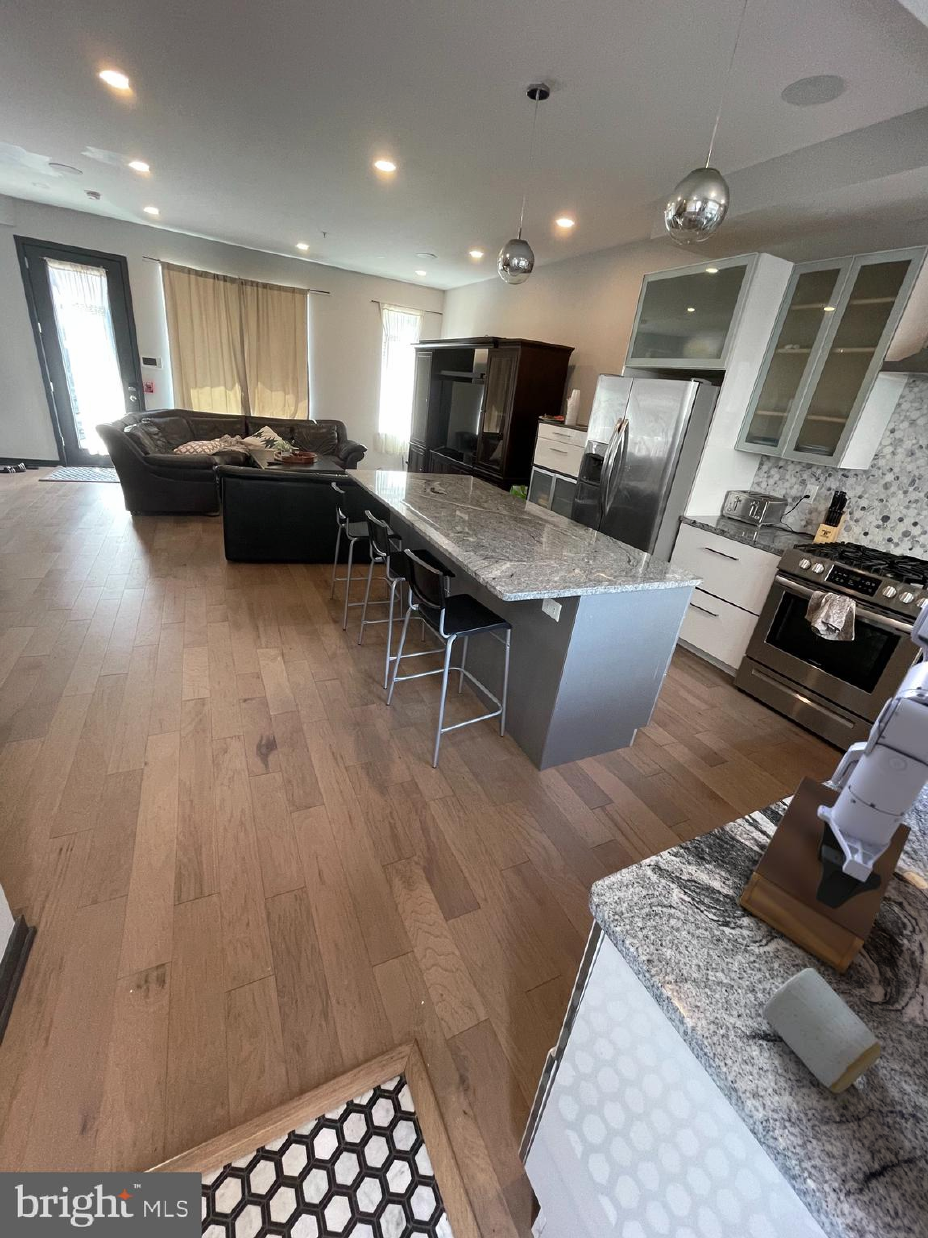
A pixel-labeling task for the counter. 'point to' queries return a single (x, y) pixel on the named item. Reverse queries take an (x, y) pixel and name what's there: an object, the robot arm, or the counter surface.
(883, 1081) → the counter surface
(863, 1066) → the ceramic mug
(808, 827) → the lid
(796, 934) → the box
